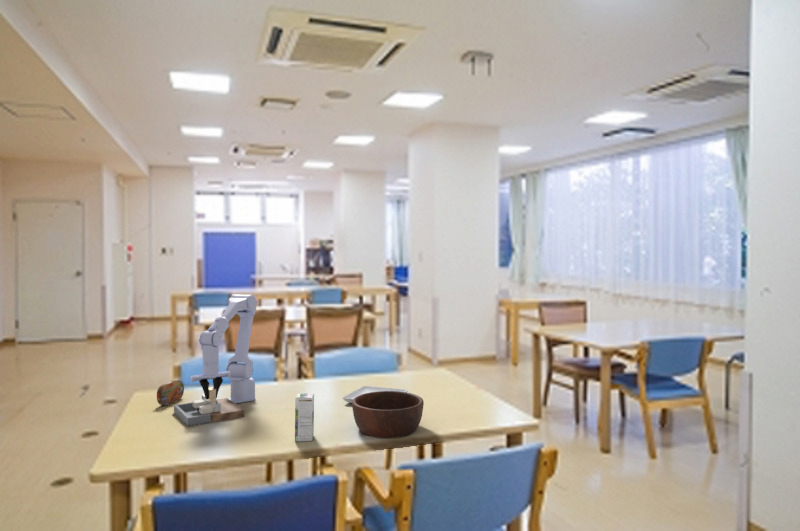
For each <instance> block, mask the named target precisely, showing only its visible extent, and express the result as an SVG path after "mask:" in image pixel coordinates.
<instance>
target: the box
mask: <svg viewBox="0 0 800 531" xmlns="http://www.w3.org/2000/svg"><path fill="white" fill-rule="evenodd" d="M173 413H174V415H176V417H178V418H179V420H180V421H182V422H183V424H184V425H186V426H187V427H192V426H193V427H194V425H195V426H199V424H200V425H204V424H210V423H212V422H211V414H205V415H203V414H201V413H200V412H199V411H198V410H197V409H196V408H194V407H193V406H192V401H191V402H184V403H178V404H174V405H173Z"/></svg>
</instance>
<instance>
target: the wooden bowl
mask: <svg viewBox="0 0 800 531" xmlns="http://www.w3.org/2000/svg"><path fill="white" fill-rule="evenodd" d="M424 404H425V403H424V399H423V398H422V397H421V396H420V395H417V394H414V393H412V392H408V391H407V392H399V391H378V392H370V393H365V394H362V395H359V396H357V397H355V398H354V399H353V401H352V403H351V406H352V414H353V418H354V422H355V424H356V426H357V429H358V430H359V431H360V432H361V433H362V434H365V435H367V436H370V437H375V438H379V439H380V438H383V439H391V438H392V439H395V438H401V437H406V436H409V435H411V434H413V433H414V432H415V431H416V430H417V429H418V427H419V425H420V423H421V420H422V417H423V412H424Z"/></svg>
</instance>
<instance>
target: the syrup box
mask: <svg viewBox="0 0 800 531" xmlns="http://www.w3.org/2000/svg"><path fill="white" fill-rule="evenodd" d="M294 400H295V403H294V404H295V409H294V410H295V411H294V413H295V414H294V416H295V417H294V442H312V441H313V439H314V438H313V437H314V434H315V433H314V432H315V430H314V429H315V428H314V426H315V394H314V393H311V392H309V393H308V392H302V393H301V392H300V393H297V395H296V397H295V399H294Z"/></svg>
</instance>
